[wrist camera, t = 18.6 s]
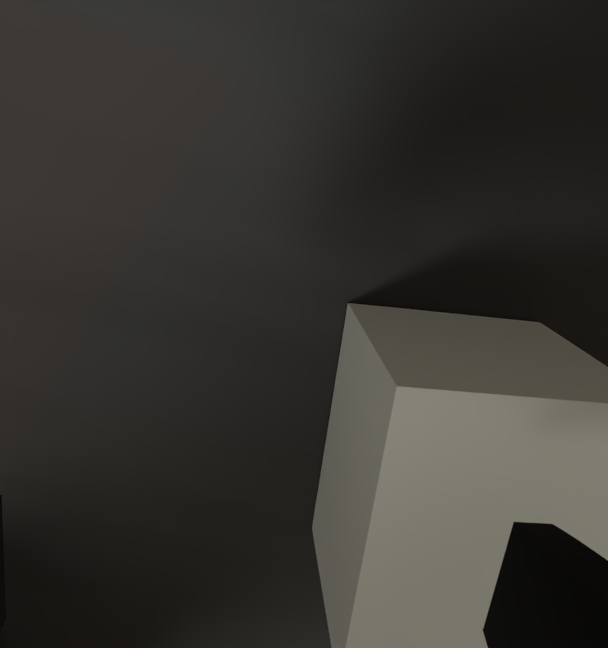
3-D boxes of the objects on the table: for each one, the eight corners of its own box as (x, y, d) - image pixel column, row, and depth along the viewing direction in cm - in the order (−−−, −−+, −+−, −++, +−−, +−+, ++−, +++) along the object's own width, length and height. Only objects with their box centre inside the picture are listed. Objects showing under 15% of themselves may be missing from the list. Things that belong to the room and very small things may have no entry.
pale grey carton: (311, 528, 21) (337, 686, 15) (347, 302, 18) (396, 386, 12) (482, 536, 21) (570, 689, 16) (539, 322, 19) (671, 408, 13)
